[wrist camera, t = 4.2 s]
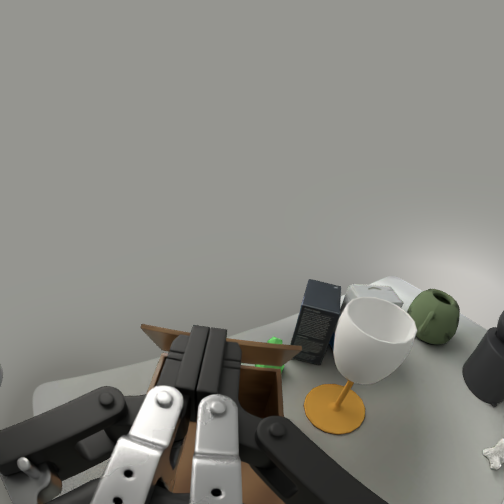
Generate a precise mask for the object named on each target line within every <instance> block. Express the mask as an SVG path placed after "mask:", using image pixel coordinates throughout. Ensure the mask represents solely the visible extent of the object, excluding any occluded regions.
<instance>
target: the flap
mask: <svg viewBox="0 0 504 504" xmlns="http://www.w3.org/2000/svg"><path fill="white" fill-rule="evenodd" d="M141 329H142V330H143V331H144V332H145V333H146V334H147V335H148V336H149V337H150V339H151V340H153V342H154V343H155V344H156V345H157V346H158V347H159V348H160V349H161V350H164V351H170V347H171V345H172V342H173V340H175V339H176V338H177V337H178V336H179V335H180V334H182V335H188V336H190V333H188V332H183V331H177V330H171V329H166V328H161V327H156V326H151V325H145V324H141ZM226 341H230V342H238V344H239V346H240V348H241V351H242V356H241V363H248V364H257V365H268V366H280V367H282V366H283V365H284V364H285V363H287V362H288V361H289V360H290V359H292V358H293V357H294V356H295V355H297V354H298V353H299V352H300V351H302V346H296V345H283V344H272V343H262V342H253V341H245V340H236V339H229V338H226Z"/></svg>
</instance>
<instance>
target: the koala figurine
mask: <svg viewBox="0 0 504 504" xmlns="http://www.w3.org/2000/svg"><path fill="white" fill-rule="evenodd" d="M483 455H484V456H486V457H487V458H488V459H489V462H490V466H491V468H492V469H493V468H494V469H499V468H500V467H501V464H502V463H504V438H503V439H502V440H500V441H499V442H498V444H497V445H496V446H495V447H493V448H487V449H484V450H483Z"/></svg>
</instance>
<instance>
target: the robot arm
mask: <svg viewBox="0 0 504 504" xmlns="http://www.w3.org/2000/svg"><path fill="white" fill-rule="evenodd" d="M226 338H227V330H226V329H219V328H211V329H210V327H205V326H198V325H193V327H192V330H191V333H190V336H188V335H182V334H180V335H179V336H178V337H177V338H176V339H175V340H173V342H172V345H171V347H170V351H169V353H168V355H167V359H166V361H165V364H164V366H163V369H162V372H161V375H160V377H159V380H158V383H157V385H156V387H154V388H152V389H151V390H150V391H149V392H148V393H147V394H145V395H140V396H123V394H122V393H121V391H119V390H118V389H116V388H114V387H110V386H104V387H100V388H98V389H96V390H93V391H91V392H89V393H87V394H85V395H83V396H81V397H78V398H76V399H74V400H72V401H70V402H67V403H65V404H63V405H61V406H58V407H56V408H54V409H52V410H49V411H47V412H45V413H42V414H40V415H38V416H35V417H33V418H30V419H28V420H25V421H23V422H21V423H18V424H16V425H13V426H11V427H8V428H6V429H3V430H0V476H1V478H2V481H3V483H4V486H5V488H6V490H7V492H8V494H9V497H10V499H11V501H12V503H13V504H244V503H242V477H241V461H242V462H245V463H248V464H249V466H250V467H251V468H252V469H253V471H254V472H255V473H256V474H257V475H258V476H259V477H260V478H261V479H262V480H263V481H264V483H265V484H266V485H267V486H268V487H269V488H270V489H271V490H272V491H273V492H274V493H275V494H276V495H277V496H278V497H279V498H280V499H281V500H282V501H283V502H284V503H285V504H388V503H387V502H386V501H384V500H383V499H382V498H380V497H379V496H378V495H376V494H375V493H374V492H372V491H371V490H370V489H368V488H367V487H366V486H364V485H363V484H362V483H361V482H359V481H358V480H357V479H356V478H354V477H353V476H352V475H351V474H349V473H348V472H347V471H346V470H345V469H343V468H342V467H341V466H340V465H339V464H337V463H336V462H335V461H334V460H333V459H332V458H331V457H329V456H328V455H327V454H326V453H325V452H324V451H323V450H321V449H320V448H319V447H318V446H317V445H316V444H315V443H314V442H313V441H311V440H310V439H309V438H308V437H307V436H306V435H305V434H304V433H303V432H302V431H301V430H300V429H299V428H298V427H297V426H296V425H294V424H293V423H292V422H291V421H290V420H289V419H287V418H285V417H282V416H269V417H266V418H264V419H262V418H259V417H257V416H254V415H251V414H249V413H248V412H246V411H245V410H244V409H243V408H242V407H241V405H240V403H239V400H238V393H239V380H240V368H241V356H242V351H241V348H240V346H239V344H238V342H230V341H226ZM196 419H197V427H196V438H195V450H194V454H193V460H192V472H191V487H190V493H173V489H174V485H175V477H176V471H177V467H178V464H179V461H180V457H181V454H182V451H183V448H184V444H185V441H186V438H187V432H188V427H189V423H190V421H192V422H196ZM109 458H110V459H109ZM107 459H109V461H108V463H107V465H106V467H105V470H104V472H103V474H102V476H101V478H97V479H94V480H91V481H89V482H87V483H85V484H83V485H81V486H80V487H78V488H76V489H74V490H72V491H70V492H68V493H66V494H64V495H61V496H59V497H57V498H55V499H53V498H54V497H56V496H57V495H59V494H60V493H61V491H62V482H61V481H63V480H66V479H68V478H70V477H72V476H75V475H77V474H79V473H81V472H83V471H85V470H87V469H89V468H91V467H93V466H95V465H97V464H99V463H101V462H103V461H105V460H107ZM52 499H53V500H52Z"/></svg>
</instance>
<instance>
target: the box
mask: <svg viewBox="0 0 504 504" xmlns="http://www.w3.org/2000/svg"><path fill="white" fill-rule="evenodd" d="M340 299H341V286H336V285H332V284H328V283H324V282H320V281H316V280H311V279H309V281H308V284H307V287H306V291H305V294H304V298H303V301H302V305H301V309H300V312H299V316H298V320H297V323H296V327H295V331H294V334H293V338H292V341H291V345H296V346H302V351H300V352H299V353H298V354H297V355H295V356H294V357H293V358H294V359H298V360H301V361H305V362H309V363H313V364H318V365H320V364H321V362H322V359H323V357H324V354H325V352H326V349H327V347H328V344H329V342H330V339H331V337H332V334H333V332H334V329H335V326H336V324H337V321H338V318H339V316H340Z"/></svg>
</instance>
